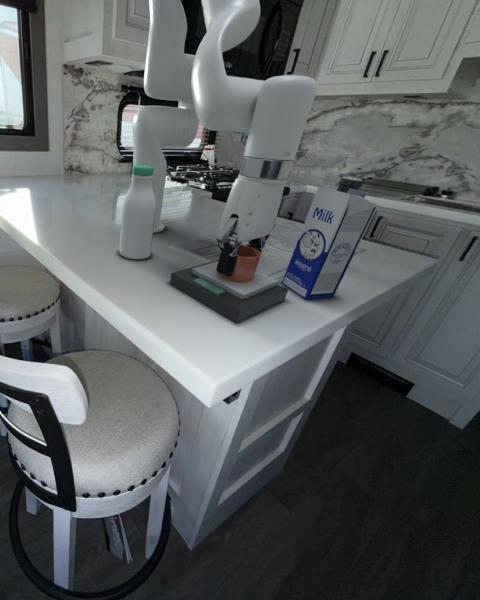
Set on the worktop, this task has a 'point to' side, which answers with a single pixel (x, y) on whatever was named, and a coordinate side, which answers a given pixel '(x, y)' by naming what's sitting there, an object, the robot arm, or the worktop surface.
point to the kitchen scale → (229, 291)
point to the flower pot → (244, 264)
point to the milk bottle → (138, 215)
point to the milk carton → (328, 242)
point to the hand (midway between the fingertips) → (236, 269)
